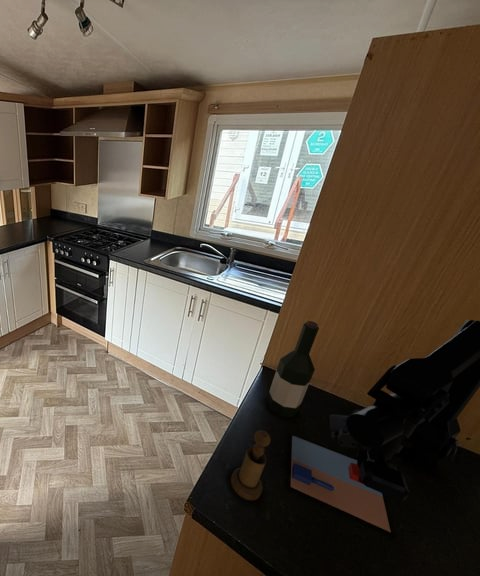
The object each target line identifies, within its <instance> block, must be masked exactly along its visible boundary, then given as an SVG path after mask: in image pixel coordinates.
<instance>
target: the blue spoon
mask: <svg viewBox="0 0 480 576" xmlns="http://www.w3.org/2000/svg"><path fill="white" fill-rule="evenodd" d="M292 478H293V479H296V480H298V481H300V482H302V483H305V484H307V485H309V486H310V484H311V482H312V483H315V484H317V485H319V486H322V487H324V488H326V489H328V490H331V491H333V490H334V487H333V486H332V485H330V484H328V483H326V482H323V481H321V480H319V479H317V478H314V477H312V470H310V469H308V468H305V467H303V466H300V465H298V464H296V463H294V465H293V467H292Z"/></svg>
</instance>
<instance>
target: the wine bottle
mask: <svg viewBox="0 0 480 576" xmlns="http://www.w3.org/2000/svg"><path fill="white" fill-rule="evenodd" d="M319 329H320V327H319V324H318V323H317V322H315V321H312V320H307V321H306V322H305V323H304V324H303V325H302V328H301V331H300V333H299V336H298V339H297V341H296V343H295V344H296V345H295V347H294V349H293V350H291V351H290V352H288V353H287V354H285V355H284V356H282V357H281V358H279V362H278V364H277V367H276V371H275V373H274V376H273V379H272V382H271V385H270V388H269V392H268V395H267V397H266V400H265V403H266V404H267V406H268V409H269V410H271V411H272V412H274V413H275V414H277V415H279V416H281V417H288V418H293V417H294V416H295V415H296V414H297V413H298V412H299V410H300V408H301V405H302V402H303V400H304V398H305V395H306V392H307V390H308V388H309V385H310V383H311V380H312V378H313V376H314V373H315V371H316V368H315V366H314V363H313V361H312V358H311V355H310V353H311V350H312V348H313V345H314V343H315V341H316V340H315V339H316V337H317V335H318V333H319Z"/></svg>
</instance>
